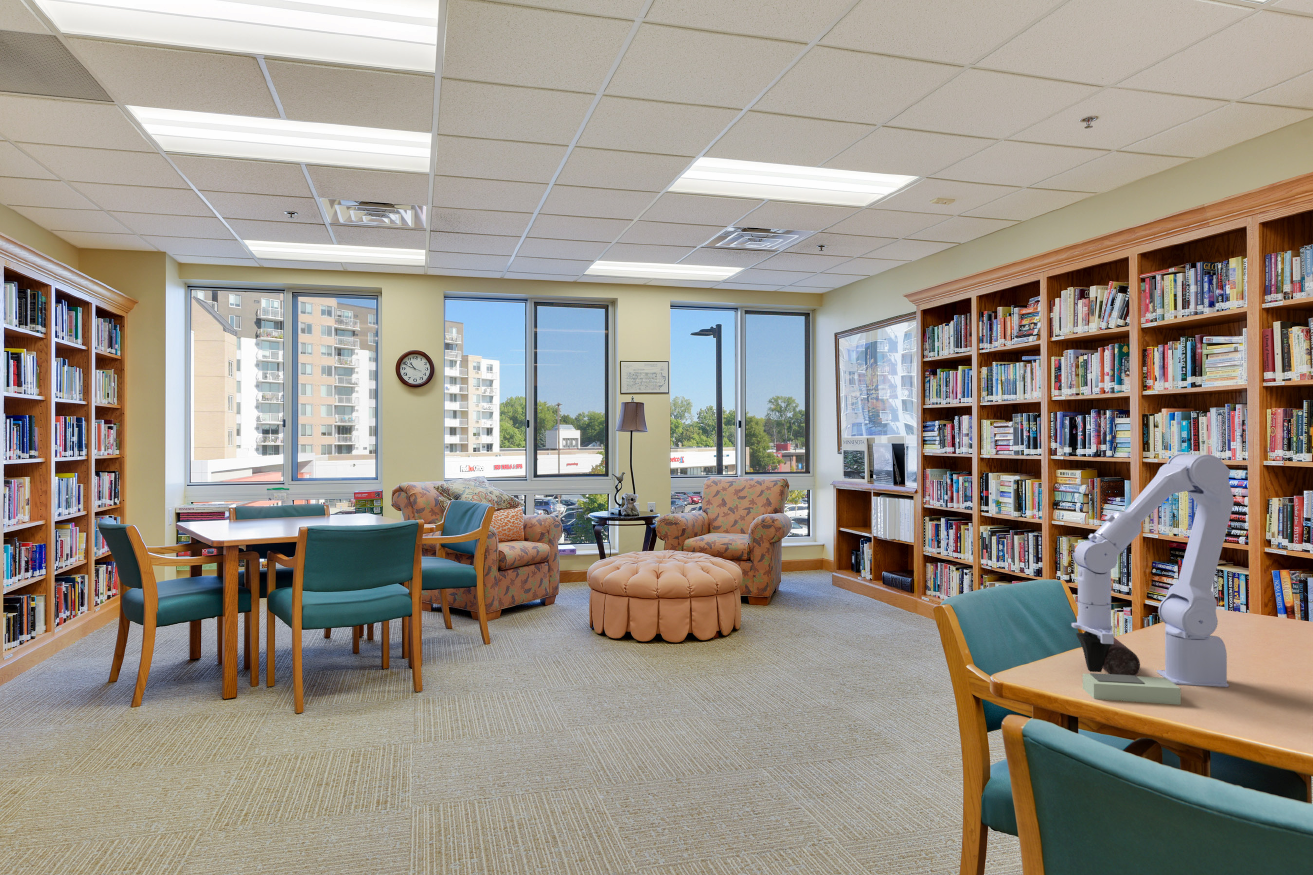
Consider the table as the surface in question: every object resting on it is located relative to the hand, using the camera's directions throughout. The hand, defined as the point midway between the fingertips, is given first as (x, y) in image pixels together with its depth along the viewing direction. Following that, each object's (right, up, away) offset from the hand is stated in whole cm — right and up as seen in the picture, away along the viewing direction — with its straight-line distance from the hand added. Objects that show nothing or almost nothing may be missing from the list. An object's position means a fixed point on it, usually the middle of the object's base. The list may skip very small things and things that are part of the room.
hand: (1094, 670), depth 154 cm
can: (+4, +2, -3) cm, 6 cm away
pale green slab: (0, -1, -12) cm, 12 cm away
